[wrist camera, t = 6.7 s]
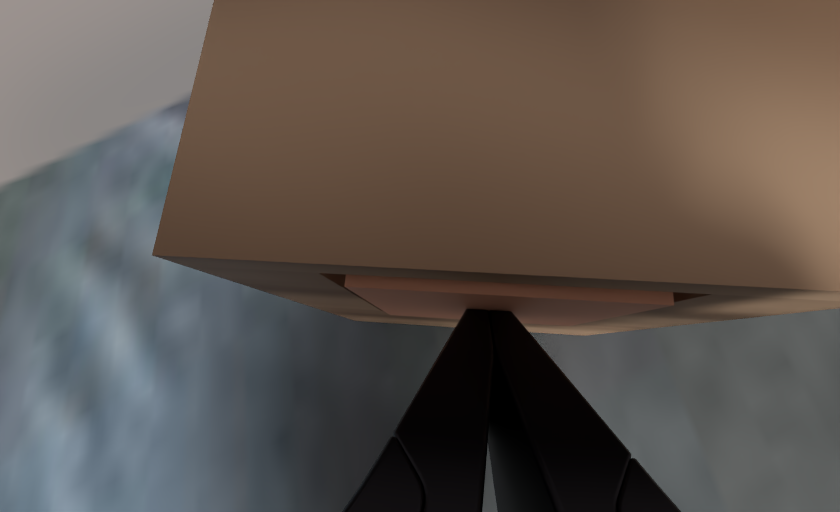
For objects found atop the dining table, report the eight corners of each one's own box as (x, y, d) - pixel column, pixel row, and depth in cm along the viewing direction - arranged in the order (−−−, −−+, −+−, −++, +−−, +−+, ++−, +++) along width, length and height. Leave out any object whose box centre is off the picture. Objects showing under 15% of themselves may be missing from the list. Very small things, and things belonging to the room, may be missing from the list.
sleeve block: (584, 335, 15) (944, 296, 4) (355, 320, 15) (152, 255, 5) (576, 108, 17) (790, -292, 6) (378, 104, 18) (276, -258, 7)
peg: (568, 326, 9) (674, 305, 5) (389, 315, 10) (344, 286, 5) (560, -6, 12) (626, -213, 7) (417, -5, 12) (401, -201, 8)
